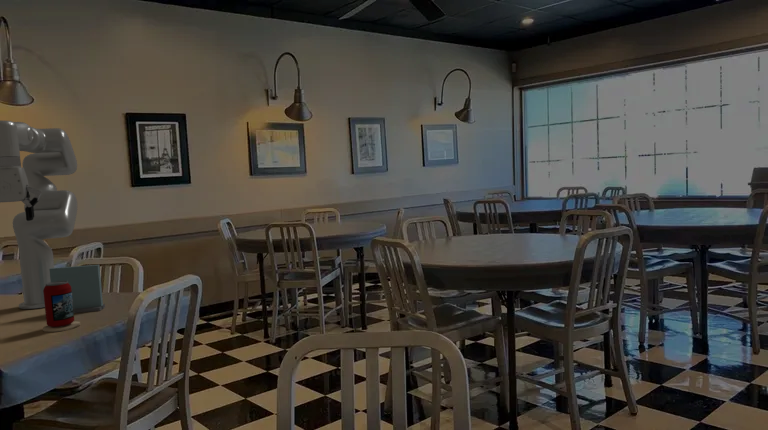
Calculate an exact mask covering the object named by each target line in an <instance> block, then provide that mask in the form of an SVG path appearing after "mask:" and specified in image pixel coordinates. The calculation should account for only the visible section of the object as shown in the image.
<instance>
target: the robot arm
mask: <svg viewBox="0 0 768 430" xmlns="http://www.w3.org/2000/svg"><path fill="white" fill-rule="evenodd" d="M21 152H27V153H30V154H28V155H25V157H24V158H23V159H22V162H21V154H20V153H21ZM77 169H78V160H77V158H76V154H75V152H74V149H73V145H72V142H71V140H70V138H69V136H68V134H67V132H66V131H65V130H64V129H62V128H59V127H58V128H56V127H55V128H36V127H33V126H30V125H29V124H28V123H26V122H23V121H13V120H0V203H15V202H22V203H23V204H24V207H23V209H24V211H22V212H19V213H18V214H16V215H15V216H14V217H13V219H12V228H13V229H12V230H13V231H14V232H13V233H14V236H15V239H16V242H17V249H18V255H19V264H20V265H19V266H20V274H21V284H22V293H23V302H21V303H19V304H18V309H20V310H32V309H33V310H34V309H42V308H45V304H44V293H43V290H44V288H45V286H46V283H50V282H51V280H50V270H49V269H51V268H55V261H54V253H53V249H52V248H51V246H49V244H47V242H45V241H44V240H46V239H47V240H48V239H59V238H66V237H67V238H68V237H69V236H71V235H72V234H73V232H74V229H75V224H76V219H77V214H78V200H77V197H76V194H75V193H74V192H72V191H71V190H62V189H61V190H58V188H57V186H56V185H55V184H54V183H53V181H51V180H50V179H49V178H47V177H49V176H50V177H55V176H56V177H57V176H70V175H73V174H75V173H76V172H77Z"/></svg>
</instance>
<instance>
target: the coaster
mask: <svg viewBox="0 0 768 430" xmlns="http://www.w3.org/2000/svg"><path fill="white" fill-rule="evenodd" d="M80 326H81V321H79V320H74V321H73V322H72V323H71V324H70V325H67V326H63V327H56V328H53V327H50V326H48V325H45V326H43V327H42V332H44V333H57V332H64V331H70V330H73V329H76V328H79V327H80Z"/></svg>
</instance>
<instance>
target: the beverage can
mask: <svg viewBox="0 0 768 430" xmlns="http://www.w3.org/2000/svg"><path fill="white" fill-rule="evenodd" d="M43 293H44V304H45V307H44V312H45V319H46V326H50V327H53V328H56V327H63V326H67V325H70V324H71V323H72V322H73V321H75V313H74V309H73V299H72V290H71V286H70V284H69V283H68V281H56V282H50V283H46V286H45V288H44V290H43Z"/></svg>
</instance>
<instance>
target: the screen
mask: <svg viewBox="0 0 768 430" xmlns="http://www.w3.org/2000/svg"><path fill="white" fill-rule="evenodd" d="M49 270H50V280H51V282H56V281H68V283H69V284H70V286H71V290H72V299H73V309H74V314H79V313H88V312H89V313H90V312H99V311H101V310H103V309H105V308H106V304H105V303H104V301H103V300H104V299H103V289H102V281H101V269H100V264H89V265H88V264H87V265H76V266H63V267H54V268H51V269H49Z"/></svg>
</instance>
